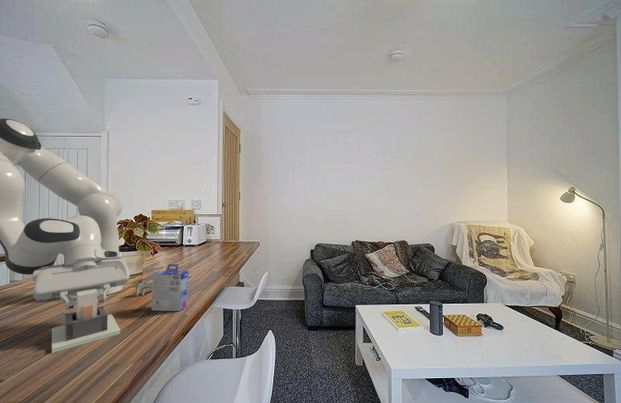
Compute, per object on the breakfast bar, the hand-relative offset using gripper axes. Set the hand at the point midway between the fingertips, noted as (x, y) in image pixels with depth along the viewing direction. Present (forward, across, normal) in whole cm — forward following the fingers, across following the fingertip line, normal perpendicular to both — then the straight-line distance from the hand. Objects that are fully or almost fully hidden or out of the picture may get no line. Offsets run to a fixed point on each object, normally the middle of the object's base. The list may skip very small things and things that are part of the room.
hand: (86, 304), depth 69 cm
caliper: (-12, +26, +24) cm, 37 cm away
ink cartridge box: (+4, +22, +8) cm, 23 cm away
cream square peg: (+4, 0, +5) cm, 7 cm away
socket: (+5, 0, +6) cm, 8 cm away
